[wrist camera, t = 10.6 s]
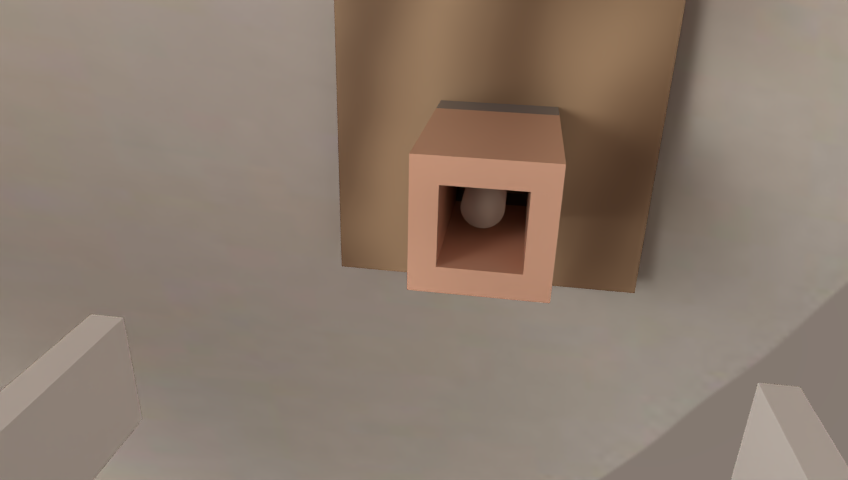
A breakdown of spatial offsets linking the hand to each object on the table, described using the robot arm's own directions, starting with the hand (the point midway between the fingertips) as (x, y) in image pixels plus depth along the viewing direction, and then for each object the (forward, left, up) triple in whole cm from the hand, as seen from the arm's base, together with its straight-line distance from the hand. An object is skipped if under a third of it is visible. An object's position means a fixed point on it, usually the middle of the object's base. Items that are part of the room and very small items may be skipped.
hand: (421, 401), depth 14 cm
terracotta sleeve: (+1, 0, -17) cm, 17 cm away
